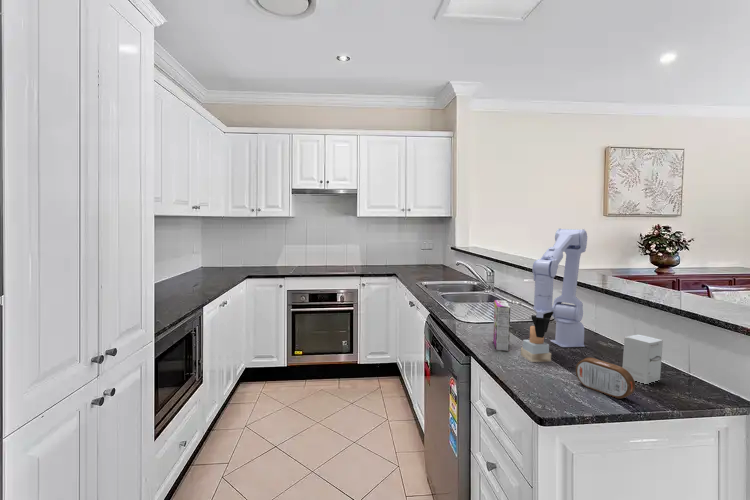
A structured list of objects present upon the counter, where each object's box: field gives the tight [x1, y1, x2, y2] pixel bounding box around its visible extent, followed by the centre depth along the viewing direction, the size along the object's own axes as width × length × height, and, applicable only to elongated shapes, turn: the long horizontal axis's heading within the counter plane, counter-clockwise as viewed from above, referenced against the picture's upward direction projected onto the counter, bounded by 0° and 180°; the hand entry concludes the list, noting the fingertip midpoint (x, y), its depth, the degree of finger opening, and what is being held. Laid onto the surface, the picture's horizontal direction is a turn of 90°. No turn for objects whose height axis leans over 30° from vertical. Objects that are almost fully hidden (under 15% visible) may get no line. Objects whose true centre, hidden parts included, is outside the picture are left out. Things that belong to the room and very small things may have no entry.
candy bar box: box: [492, 299, 511, 352], centre depth 149 cm, size 11×5×16 cm, turn 168°
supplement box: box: [621, 333, 664, 385], centre depth 120 cm, size 7×7×13 cm
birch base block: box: [520, 346, 552, 363], centre depth 137 cm, size 7×7×3 cm
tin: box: [575, 357, 636, 399], centre depth 110 cm, size 15×3×8 cm, turn 33°
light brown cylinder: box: [528, 325, 545, 344], centre depth 137 cm, size 4×4×5 cm
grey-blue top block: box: [522, 339, 550, 354], centre depth 137 cm, size 6×6×3 cm
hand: (541, 334), depth 136 cm, fingers open, 7 cm apart
